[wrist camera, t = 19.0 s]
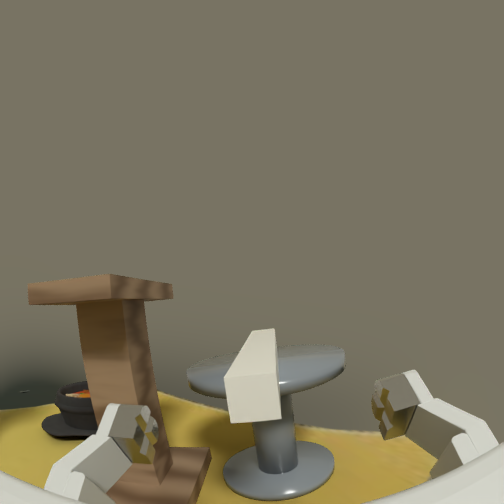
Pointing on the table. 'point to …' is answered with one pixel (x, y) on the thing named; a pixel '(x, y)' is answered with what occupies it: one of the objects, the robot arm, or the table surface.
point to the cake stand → (276, 426)
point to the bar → (254, 380)
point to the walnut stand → (127, 377)
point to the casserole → (72, 412)
